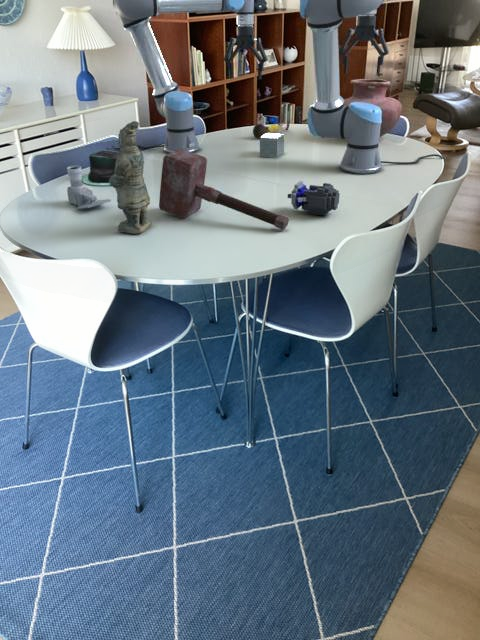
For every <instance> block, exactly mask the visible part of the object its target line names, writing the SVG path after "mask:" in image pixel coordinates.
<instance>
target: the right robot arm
mask: <svg viewBox="0 0 480 640" xmlns="http://www.w3.org/2000/svg"><path fill="white" fill-rule="evenodd" d="M388 1H390V0H299V4H298V5H299V7H298V8H299V9H298V10H299V14H300V17H301V18H302V19H304V20H306V25H307V28H309V29H310V30H311V34H312V47H313V48H312V53H313V65H314V66H313V67H314V85H315V86H314V88H315V98H314V99H313V101H312V104H311V105H310V106H309V108H308V110H307V117H306V118H307V119H306V122H307V128H308V130H309V133H310V134H311V135H312V136H314V137H316V138H317V137H318V138H322V139H335V140H336V139H338V140H346V149H345V151H344V154H343V156H342V158H341V162H340V170H341V171H343V172H345V173H349V174H355V175H356V174H357V175H369V174H370V175H371V174H376V173H378V172H380V171H382V164H391V165H411V164H412V165H413V164H418V163H419V162H420V160H422V159H425V158H430V157H437V158H440V159H442V160H444V157H443V156H442V155H441V154H437V153H434V154H426V155H422V156H419V157H418V158H417V160H416V161H388V160H381V155H380V150H379V147H380V145H379V144H380V138H381V137H380V128H381V122H382V120H381V115H382V111H381V109H380V108H379V107H378V106H376V105H373V104H369V103H364V102H353V103H351V104H350V106H344V97H342V96H341V95H340V92H341V90H340V89H341V87H340V56H339V55H341V56H342V58H341V59H342V60H341V61H342V63H341V64H342V65H343V74H347V73H348V67H349V55H348V54H349V53H350V51H351V50H352V49H353V47H355V45H356V44H357V43H358V42H367V43H368V42H370V43H371V45H372V46H373V47H374V49H375V51H376V52H377V54H378V55H379V56H377V62H376V63H377V64H376V75H379V74H380V73H381V66H383V65H384V59H385V56H387V55H389V54H390V51H389V49H388V46H387V42H386V40H385V36H384V29H383V28H379V29H376V21H377V16H376V15H377V11H378V9H379V8H380V7H381V6H382V4H383V3H387V2H388ZM349 18H350V19H351V18H356V21H355V29H353V28H348V29H347V33H346V36H345V38H344V40H343V42H342V43H341V46H340V47H339V27H340V25H341V24H342V23H343V19H349ZM353 35H355V37H354V39H353V40H352V42H351V43H350V44H349V45H348V43H349V41H350V39H351V37H352V36H353ZM375 35H376V36H378V39H379V42H380V44H381V46H380V44H379V43H378V41H377V40H376V38H375V37H374V36H375ZM347 45H348V46H347Z"/></svg>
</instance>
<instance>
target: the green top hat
mask: <svg viewBox="0 0 480 640" xmlns="http://www.w3.org/2000/svg"><path fill="white" fill-rule="evenodd" d="M118 154H119V152H118V151H116V150H102V151H101V150H100V151H97V152H93V153H91V154H89V155H88V159H89V172H88V174H86V175H84V176H83V177H82V183H84V184H87V185H93V186H111V185H110V183H109V179H110V178H111V176H113V175H114V170H115V164H116V160H117V156H118Z"/></svg>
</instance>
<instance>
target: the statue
mask: <svg viewBox="0 0 480 640" xmlns="http://www.w3.org/2000/svg"><path fill="white" fill-rule="evenodd" d="M139 126H140V122H139V121H136V120H134V121H131V122H129V123H127V124H126V125H125V126H123V127H122V128H121V129H119V133H118V139H117V141H118V146H119V147H118V148H120V150H119V152H118V153H119V154H118V156H117V160H116V164H115V170H114V175H113V176H111V178H110V179H109V183H110V185H109V186H111V187H112V188H113V189H115V191H116V203H117V209H119V210H122V213H123V214H124V215H125V218H126V219H125V220H122V221H120V222H119V224H118V225H117V231H118V232H121V233H126V234H134V235H136V234H142V233H143V232H145V231H146V230H147V229H148V228H150V227H151V226H152V225H153V223H152V220H150V219H148V216H147V214H148V213H147V212H148V211H147V209H148V206H149V205H150V204H151V198H150V195H149V191H148V188H147V184H146V182H145V178H144V165H145V157H144V153H143V151H142V150H141V149H139V147H137V146H136V145H137V144H138V142H137V141H138V140H137V139H138V137H137V132H138V131H139V128H140V127H139Z"/></svg>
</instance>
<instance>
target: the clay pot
mask: <svg viewBox="0 0 480 640" xmlns="http://www.w3.org/2000/svg"><path fill="white" fill-rule="evenodd" d="M350 84H351V85H352V86H353V93H352V95H351V96H349V97H348V98H345V99H344V98H343V99H344V106H350V104H351V103H353V102H364V103H369V104H373V105H376V106H378V107H379V108H380V109H381V111H382V115H381V120H382V122H381V128H380V137H379V138H381V137H383V136H385V135H386V134H388V133H390V132H391V131H392V130H393V129H394V128H395V126H396V125H397V123H399V120H400V118H401V115H402V112H403V105H402V103H401V102H400V101H399V99H396V98H393V97H388V96H386V93H387V90H388V87H389V86H390V85H391V81H389V80H386V79H379V78H377V79H376V78H358V79H351V80H350Z"/></svg>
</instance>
